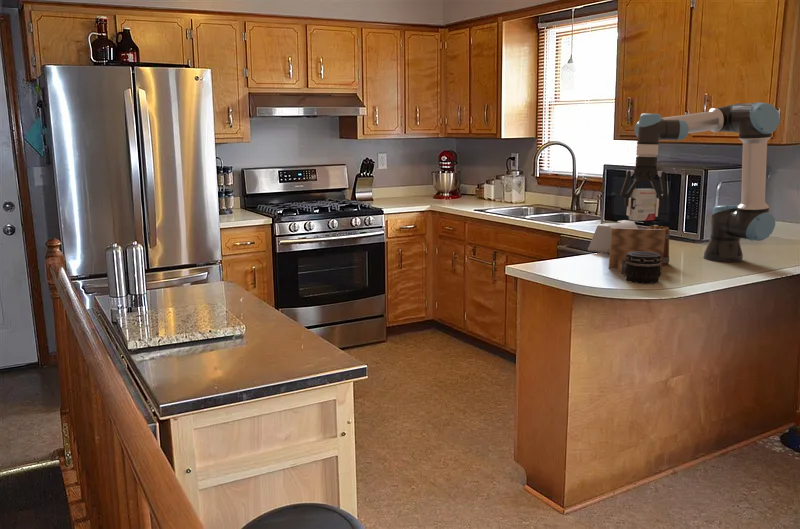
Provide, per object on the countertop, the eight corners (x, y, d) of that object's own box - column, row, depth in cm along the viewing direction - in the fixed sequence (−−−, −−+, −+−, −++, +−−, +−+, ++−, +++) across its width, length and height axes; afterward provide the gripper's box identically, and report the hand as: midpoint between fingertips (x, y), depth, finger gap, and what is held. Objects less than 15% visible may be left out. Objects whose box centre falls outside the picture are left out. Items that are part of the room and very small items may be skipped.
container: (622, 282, 256) (624, 255, 254) (624, 275, 268) (626, 249, 266) (660, 285, 252) (662, 258, 250) (661, 278, 263) (663, 252, 261)
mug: (671, 266, 287) (674, 229, 284) (643, 265, 289) (646, 228, 286) (664, 259, 302) (667, 224, 299) (638, 258, 304) (641, 223, 301)
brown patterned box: (661, 269, 279) (664, 229, 276) (668, 275, 269) (671, 233, 266) (608, 268, 282) (611, 227, 279) (613, 273, 271) (616, 232, 268)
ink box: (647, 218, 274) (650, 188, 272) (655, 220, 270) (658, 189, 268) (627, 219, 272) (630, 188, 270) (635, 221, 267) (638, 189, 265)
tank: (620, 256, 308) (622, 227, 306) (586, 251, 319) (588, 223, 317) (646, 249, 326) (648, 222, 323) (614, 245, 337) (616, 218, 334)
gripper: (675, 156, 269) (669, 215, 273) (614, 154, 271) (610, 213, 276) (680, 157, 261) (674, 217, 266) (618, 155, 264) (613, 215, 268)
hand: (641, 215), depth 271 cm, fingers closed on ink box, 9 cm apart
